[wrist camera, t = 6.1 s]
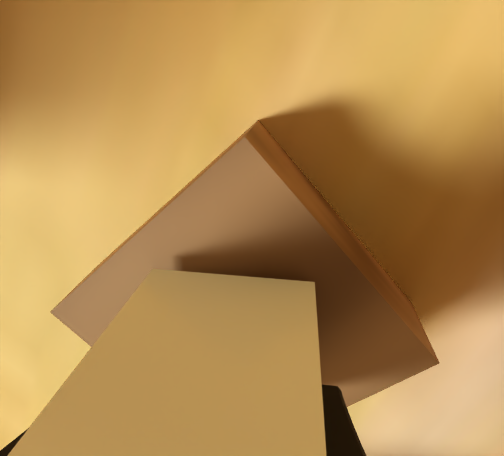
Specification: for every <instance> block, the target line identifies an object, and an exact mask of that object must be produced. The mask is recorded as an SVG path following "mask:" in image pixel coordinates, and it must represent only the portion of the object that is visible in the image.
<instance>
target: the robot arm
mask: <svg viewBox="0 0 504 456" xmlns="http://www.w3.org/2000/svg"><path fill="white" fill-rule="evenodd" d="M322 398H323V412H324V427H325V442H326V456H366V454H365V452H364V449H363V447H362V445H361V443H360V440H359V438H358V435H357V433H356V430H355V428H354V426H353V423H352V420H351V418H350V415H349V413H348V410H347V407H346V404H345V401H344V398H343V395H342V391H341V390H340V388H339V387H338V386H332V385H323V384H322ZM28 429H29V428H28ZM28 429H27V430H28ZM27 430H26V431H27ZM26 431H24V432H23V433H22V434H21V435H20V436H18V437H17V438H16V439H15V440H13V441H12V442H11V443H9V444H8V445H7V446H6V447H4V448H3V449H2V450H1V451H0V456H8V454H9V453H10V452H11V450H12V449H13V448H14V447H15V445H16V444H17V443H18V441H19V440H20V439H21V438H22V436H23V435H24V434H25V432H26Z"/></svg>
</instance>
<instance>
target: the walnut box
mask: <svg viewBox="0 0 504 456" xmlns="http://www.w3.org/2000/svg"><path fill="white" fill-rule="evenodd" d="M152 269H162V270H174V271H186V272H199V273H211V274H223V275H235V276H248V277H260V278H272V279H284V280H297V281H309V282H315V294H316V309H317V324H318V338H319V353H320V368H321V383H322V384H323V385H332V386H338V387H339V388H340V390H341V391H342V395H343V398H344V401H345V404H346V407H348V406H350V405H352V404H354V403H356V402H358V401H361V400H363V399H365V398H367V397H369V396H371V395H373V394H375V393H377V392H380V391H382V390H384V389H386V388H388V387H390V386H392V385H394V384H396V383H399V382H401V381H403V380H405V379H407V378H409V377H411V376H413V375H416V374H418V373H420V372H422V371H424V370H426V369H428V368H430V367H432V366H435V365H437V364H439V361H438V359H437V357H436V355H435V352H434V350H433V348H432V346H431V344H430V342H429V340H428V337H427V335H426V333H425V331H424V329H423V327H422V325H421V322H420V320H419V318H418V316H417V314H416V312H415V309H414V307H413V305H412V303H411V302H410V300H409V299H408V298H407V297H406V296H405V295H404V293H403V292H402V291H401V290H400V289H399V287H398V286H397V285H396V284H395V283H394V281H393V280H392V279H391V278H390V277H389V275H388V274H387V273H386V272H385V271H384V269H383V268H382V267H381V266H380V265H379V264H378V262H377V261H376V260H375V259H374V258H373V256H372V255H371V254H370V253H369V252H368V250H367V249H366V248H365V247H364V246H363V244H362V243H361V242H360V241H359V240H358V238H357V237H356V236H355V235H354V234H353V232H352V231H351V230H350V229H349V228H348V227H347V225H346V224H345V223H344V222H343V221H342V219H341V218H340V217H339V216H338V215H337V213H336V212H335V211H334V210H333V209H332V207H331V206H330V205H329V204H328V203H327V201H326V200H325V199H324V198H323V197H322V195H321V194H320V193H319V192H318V191H317V190H316V188H315V187H314V186H313V185H312V184H311V182H310V181H309V180H308V179H307V178H306V176H305V175H304V174H303V173H302V172H301V170H300V169H299V168H298V167H297V166H296V164H295V163H294V162H293V161H292V160H291V158H290V157H289V156H288V155H287V154H286V153H285V151H284V150H283V149H282V148H281V147H280V145H279V144H278V143H277V142H276V141H275V139H274V138H273V137H272V136H271V135H270V133H269V132H268V131H267V130H266V129H265V127H264V126H263V125H262V124H261V123H260V122H259V120H258V121H257V122H256V123H254V124H253V125H252V126H251V127H250V128H249V129H248V130H247V131H246V132H245V133H243V134H242V135H241V136H240V137H239V138H238V139H237V140H236V141H235V142H234V143H232V144H231V145H230V146H229V147H228V148H227V149H226V150H225V151H224V152H222V153H221V154H220V155H219V156H218V157H217V158H216V159H215V160H214V161H213V162H211V163H210V164H209V165H208V166H207V167H206V168H205V169H204V170H203V171H202V172H200V173H199V174H198V175H197V176H196V177H195V178H194V179H193V180H192V181H191V182H189V183H188V184H187V185H186V186H185V187H184V188H183V189H182V190H181V191H179V192H178V193H177V194H176V195H175V196H174V197H173V198H172V199H171V200H170V201H168V202H167V203H166V204H165V205H164V206H163V207H162V208H161V209H160V210H159V211H157V212H156V213H155V214H154V215H153V216H152V217H151V218H150V219H149V220H147V221H146V222H145V223H144V224H143V225H142V226H141V227H140V228H139V229H138V230H136V231H135V232H134V233H133V234H132V235H131V236H130V237H129V238H128V239H127V240H125V241H124V242H123V243H122V244H121V245H120V246H119V247H118V248H117V249H115V250H114V251H113V252H112V253H111V254H110V255H109V256H108V257H107V258H106V259H104V260H103V261H102V262H101V263H100V264H99V265H98V266H97V267H96V268H95V269H94V270H93V271H92V272H91V273H90V274H89V275H88V276H87V277H85V278H84V279H83V280H82V281H81V282H80V283H79V284H78V285H77V286H76V287H75V288H74V289H73V290H72V291H71V292H70V293H69V294H68V295H67V296H66V297H65V298H64V299H63V300H62V301H61V302H60V303H59V304H58V305H57V306H56V307H55V308H54V309H53V310H52V311H51V313H52V314H53V315H54V316H55V317H56V318H58V319H59V320H60V321H61V322H62V323H64V324H65V325H66V326H67V327H68V328H70V329H71V330H72V331H73V332H74V333H76V334H77V335H78V336H79V337H80V338H81V339H83V340H84V341H85V342H86V343H87V344H89V345H90V346H91V347H92V346H93V345H94V343H95V342H96V341H97V340H98V338H99V337H100V336H101V334H102V333H103V332H104V331H105V329H106V328H107V327H108V325H109V324H110V323H111V322H112V320H113V319H114V318H115V316H116V315H117V314H118V313H119V311H120V310H121V309H122V307H123V306H124V305H125V304H126V302H127V301H128V300H129V298H130V297H131V296H132V294H133V293H134V292H135V291H136V289H137V288H138V287H139V285H140V284H141V283H142V282H143V280H144V279H145V278H146V276H147V275H148V274H149V273H150V271H151V270H152Z"/></svg>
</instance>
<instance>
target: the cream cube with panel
mask: <svg viewBox="0 0 504 456" xmlns="http://www.w3.org/2000/svg"><path fill="white" fill-rule="evenodd" d="M8 456H326V442H325V427H324V412H323V398H322V383H321V368H320V353H319V338H318V324H317V309H316V294H315V282H309V281H297V280H284V279H272V278H260V277H248V276H235V275H223V274H211V273H199V272H186V271H174V270H162V269H152V270H151V271H150V273H149V274H148V275H147V276H146V278H145V279H144V280H143V282H142V283H141V284H140V285H139V287H138V288H137V289H136V291H135V292H134V293H133V294H132V296H131V297H130V298H129V300H128V301H127V302H126V304H125V305H124V306H123V307H122V309H121V310H120V311H119V313H118V314H117V315H116V316H115V318H114V319H113V320H112V322H111V323H110V324H109V325H108V327H107V328H106V329H105V331H104V332H103V333H102V334H101V336H100V337H99V338H98V340H97V341H96V342H95V343H94V345H93V346H92V347H91V349H90V350H89V351H88V352H87V354H86V355H85V356H84V358H83V359H82V360H81V362H80V363H79V364H78V365H77V367H76V368H75V369H74V371H73V372H72V373H71V374H70V376H69V377H68V378H67V380H66V381H65V382H64V383H63V385H62V386H61V387H60V389H59V390H58V391H57V392H56V394H55V395H54V396H53V398H52V399H51V400H50V401H49V403H48V404H47V405H46V407H45V408H44V409H43V410H42V412H41V413H40V414H39V416H38V417H37V418H36V419H35V421H34V422H33V423H32V425H31V426H30V427H29V429H28V430H27V431H26V432H25V434H24V435H23V436H22V438H21V439H20V440H19V441H18V443H17V444H16V445H15V447H14V448H13V449H12V450H11V452H10V453H9V454H8Z"/></svg>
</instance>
